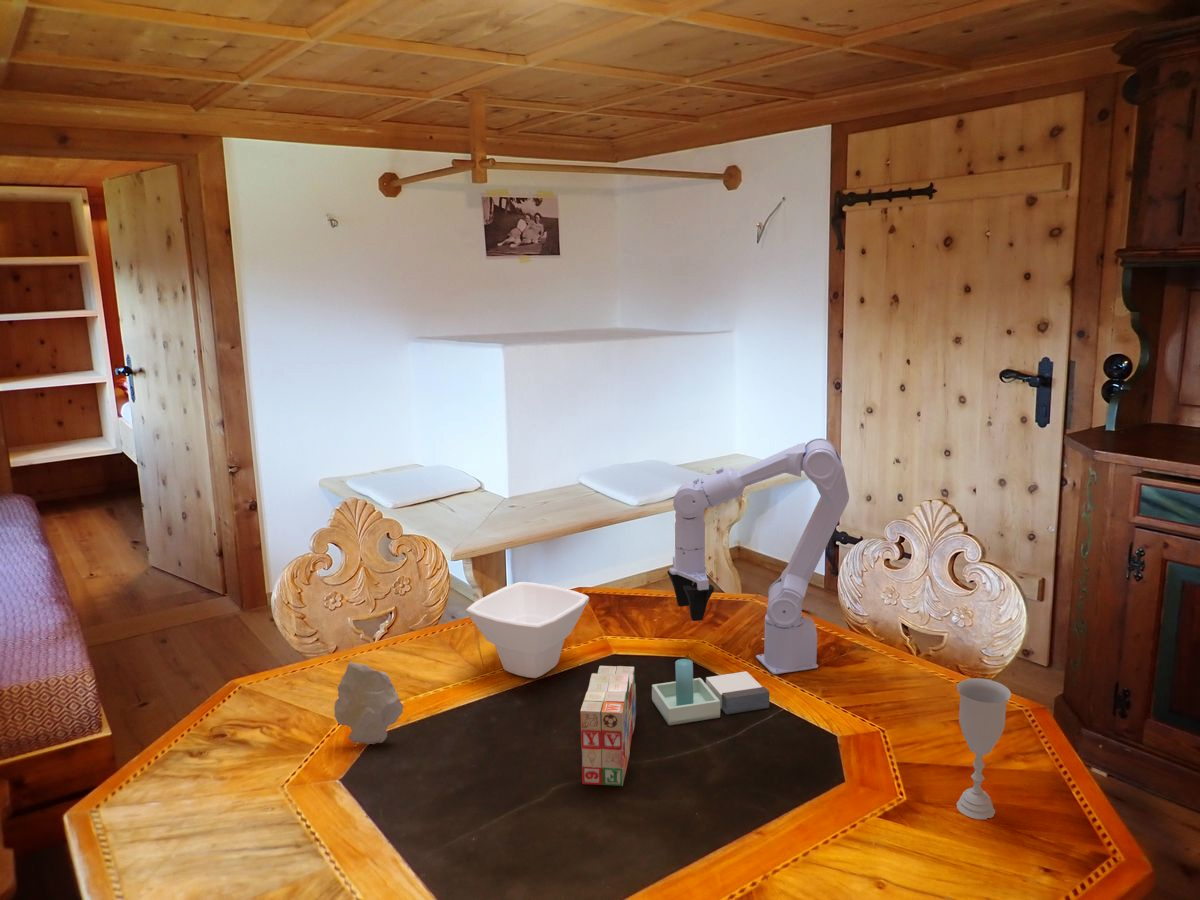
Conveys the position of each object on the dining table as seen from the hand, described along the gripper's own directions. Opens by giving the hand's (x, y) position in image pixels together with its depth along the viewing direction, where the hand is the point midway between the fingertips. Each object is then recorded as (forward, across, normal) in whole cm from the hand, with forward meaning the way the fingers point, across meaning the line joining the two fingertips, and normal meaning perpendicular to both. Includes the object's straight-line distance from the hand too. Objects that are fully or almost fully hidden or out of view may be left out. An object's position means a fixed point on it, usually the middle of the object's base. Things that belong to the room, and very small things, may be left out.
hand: (690, 612), depth 173 cm
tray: (+9, +19, -8) cm, 23 cm away
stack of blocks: (+10, +27, -24) cm, 38 cm away
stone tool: (+10, +15, -61) cm, 64 cm away
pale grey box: (+10, +17, +2) cm, 20 cm away
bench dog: (+9, +22, +2) cm, 24 cm away
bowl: (+10, -4, -31) cm, 33 cm away
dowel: (+9, +19, -8) cm, 22 cm away
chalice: (+10, +58, +21) cm, 62 cm away
